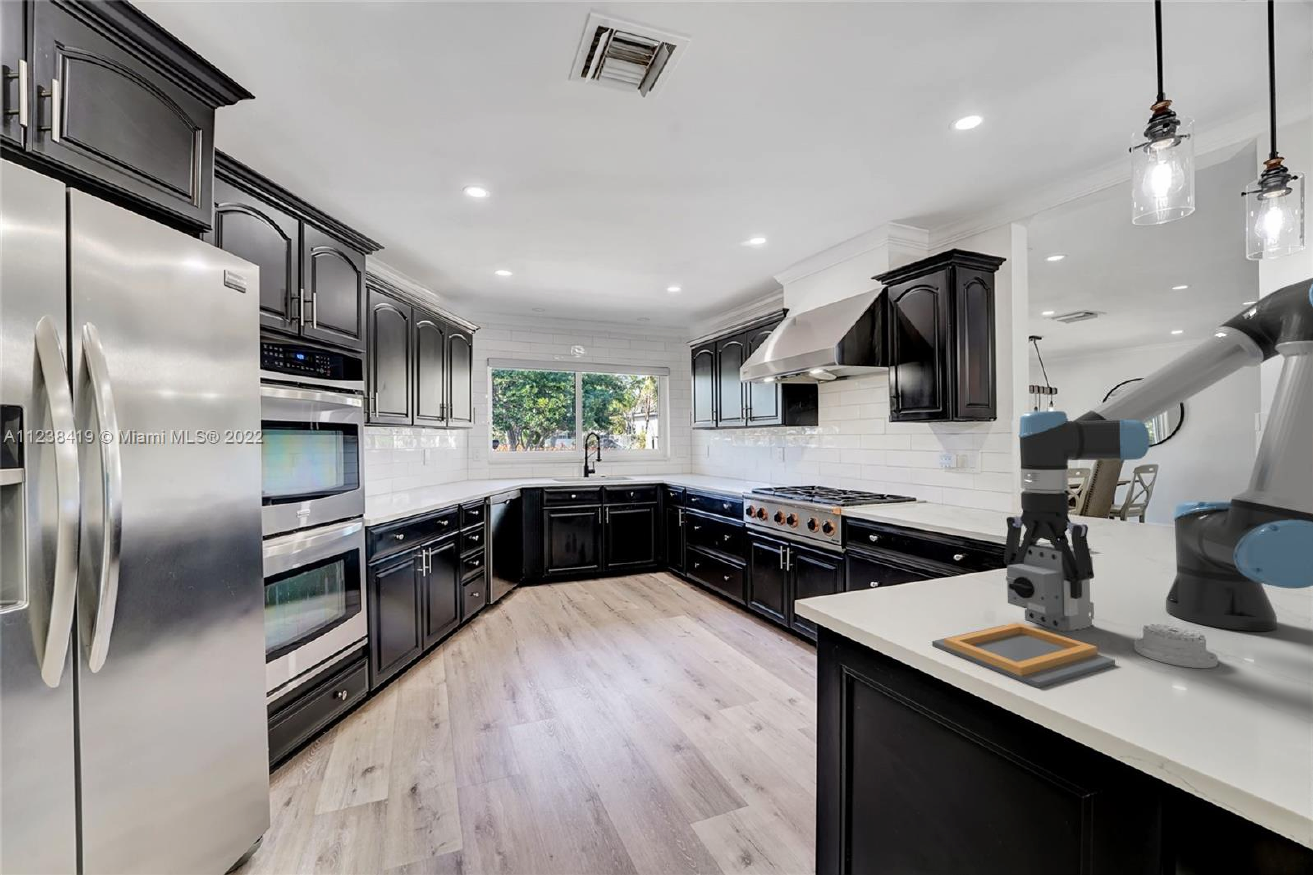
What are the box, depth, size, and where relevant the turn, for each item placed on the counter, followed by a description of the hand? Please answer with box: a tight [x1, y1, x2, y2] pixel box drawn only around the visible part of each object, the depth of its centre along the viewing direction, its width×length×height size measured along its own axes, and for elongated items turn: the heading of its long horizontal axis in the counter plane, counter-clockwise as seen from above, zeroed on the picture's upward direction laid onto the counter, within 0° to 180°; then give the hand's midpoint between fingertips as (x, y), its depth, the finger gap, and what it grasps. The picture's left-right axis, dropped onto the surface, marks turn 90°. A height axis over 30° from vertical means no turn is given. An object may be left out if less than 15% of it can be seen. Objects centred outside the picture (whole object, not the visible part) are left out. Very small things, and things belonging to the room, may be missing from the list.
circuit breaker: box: [1005, 541, 1095, 633], centre depth 104 cm, size 8×14×15 cm, turn 107°
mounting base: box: [931, 622, 1116, 689], centre depth 91 cm, size 19×18×2 cm
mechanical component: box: [1133, 623, 1219, 669], centre depth 89 cm, size 10×4×10 cm
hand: (1046, 608), depth 104 cm, fingers closed on circuit breaker, 8 cm apart
